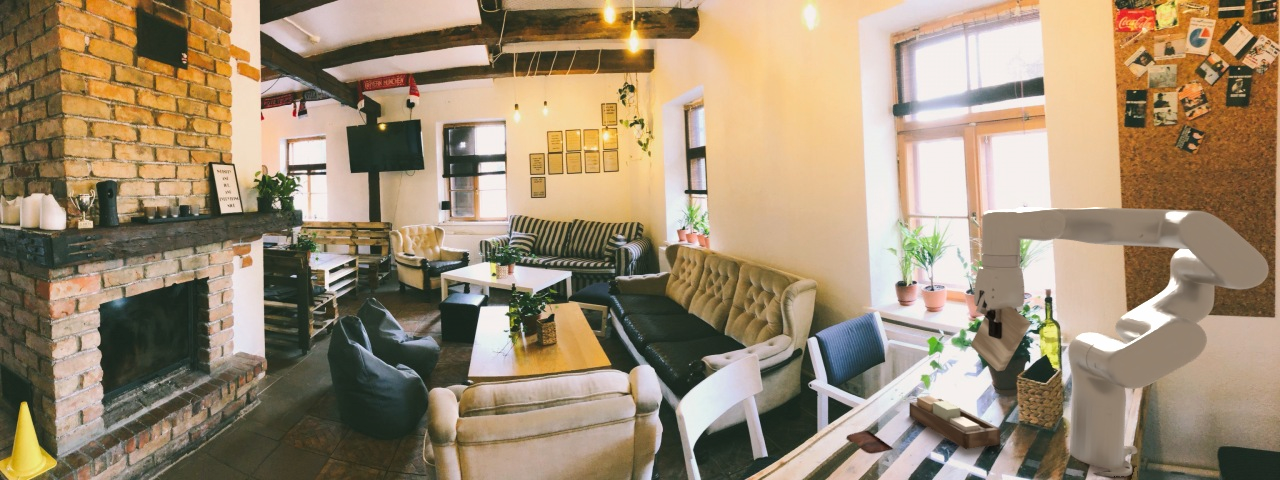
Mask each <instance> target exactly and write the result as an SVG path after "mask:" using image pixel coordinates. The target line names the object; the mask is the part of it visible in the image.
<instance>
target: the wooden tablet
mask: <svg viewBox="0 0 1280 480" xmlns="http://www.w3.org/2000/svg"><path fill="white" fill-rule="evenodd" d="M846 440H848V441H849V442H851V443H854V444H855V443H856V444H857V445H858V447H859V448H860V449H861V450H862V451H864V452H867V453H869V454H872V453H877V452H883V451H886V450H887V451H888V450H893V449H894V448H893V447H892V446H890V445H889V444H887V442H885V441H883V440H882V439H881V438H880V437H878V436H877V435H875V434H874V433H872V432H871V431H870V430H863V431H859V432H854V433H850V434H847V435H846Z"/></svg>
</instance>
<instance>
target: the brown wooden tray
mask: <svg viewBox="0 0 1280 480" xmlns="http://www.w3.org/2000/svg"><path fill="white" fill-rule="evenodd" d="M935 399H936V400H938V401H945V400H943V399H942V398H935ZM908 414H909V417H911V418H912V419H913V420H915V421H917V422H919V423H921V424H922V425H924V426H926V427H927V428H929V429H930V430H932V431H934V432H935V433H937V434H938V435H941V436H942V437H944V438H946V439H948V440H949V441H951V442H952V443H955V444H956V445H958V446H959V447H961V448H962V449H964V450H971V449H977V448H978V449H979V448H984V447H990V446H997V445H1001V431H1002V430H1001V428H999V427H998V426H995V425H993V424H991V423H989V422H987V421H985V420H983V419H982V418H980V417H977V416H975V415H973V414H971V413H970V412H967V411H965V410H964V409H961V408H960V417H965V418H967V419H969V420H970V421H972V422H974V423H976V424H978V425H979V430H975V431H968V432H966V431H964V430H962V429H960V428H959V427H957V426H955V425H953V424H951V423H949V422H948V421H946V420H944V419H942V418H940V417H938V416H937V415H935V414H933V413H931V412H929V411H928V410H926V409H924V408H922V407H920V406H918V405H917V401H913V402H909V413H908Z"/></svg>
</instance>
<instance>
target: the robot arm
mask: <svg viewBox="0 0 1280 480" xmlns="http://www.w3.org/2000/svg"><path fill="white" fill-rule="evenodd" d="M981 219H982V220H981V221H982V222H981V266H978V269H977V272H976V276H975V277H976V278H975V283H974V292H973V293H974V294H973V303H974V306H976V310H975V313H978V314H980V315H983V316H984V317H986V319H987V320H989V332H988V334H989V336H991V337H994V338H997V339H1001V338H1002V323H1001V322H1000V310H1001V309H1004V308H1005V307H1012V308H1013V309H1014V310H1016V311H1017V312H1018V313H1020V312H1021V311H1023V309H1024V304H1025V280H1024V274H1023V269H1022V267H1021V261H1022V259H1023V258H1022V256H1021V247H1022V246H1021V241H1022V240H1029V241H1038V242H1040V241H1041V242H1042V241H1043V242H1045V241H1052V240H1067V241H1068V240H1069V241H1075V242H1080V243H1084V244H1085V243H1086V244H1096V245H1104V246H1105V245H1106V246H1127V247H1128V246H1133V247H1134V246H1135V247H1155V248H1157V247H1158V248H1170V249H1171V248H1172V249H1178V250H1177V251H1175V253H1174V254H1173V255H1172V257H1171V259H1170V264H1169V266H1170V273H1169V274H1170V277H1169V281H1168V284H1167V286H1166V287H1165V288H1164V289H1163V290H1162V291H1161V292H1159V293H1157V294H1156V295H1154V297H1152V298H1150V299H1149V300H1147V301H1145V302H1143V303H1142V304H1140V305H1138V306H1137V307H1135V308H1133V309H1132V310H1130V311H1128V312H1126V313H1124V315H1121V317H1119V319H1118V320H1117V322H1116V323H1115V333H1116V334H1117V336H1118V337H1119V338H1120V339H1118V338H1116V337H1113V336H1110V335H1108V334H1105V333H1101V332H1094V331H1093V332H1092V331H1091V332H1084V333H1079V334H1078V335H1076V336H1075V337H1074V338H1073V339H1072V340H1071V341H1070V343H1069V345H1068V350H1067V356H1068V363H1069V366H1070V374H1071V395H1070V396H1071V399H1070V400H1071V401H1070V402H1071V403H1070V431H1069V432H1070V433H1069V436H1070V437H1069V454H1070V455H1071V457H1073V458H1074V459H1076V460H1078V461H1080V462H1082V463H1084V464H1087V465H1091V466H1093V467H1097V468H1104V469H1107V470H1104V471H1098V472H1093V474H1095V475H1099V476H1103V477H1112V478H1117V477H1116V476H1120V477H1119V478H1122V477H1121V476H1124V477H1128V476H1131V475H1132V473H1133V465H1132V464H1131V463H1130V462H1129V461H1128V460H1126V457H1128V456H1129V455H1134V454H1135V455H1136V454H1137V453H1138V448H1137V447H1136V446H1134V445H1132V444H1131V445H1129V444H1128V445H1125V433H1126V431H1125V427H1126V426H1125V425H1126V407H1127V392H1126V391H1127V390H1126V389H1131V390H1136V389H1141V388H1145V387H1148V386H1149V385H1152V384H1153V383H1155V382H1158V381H1159V380H1161V379H1163V378H1165V377H1167V376H1169V375H1170V374H1173V373H1174V372H1175V371H1178V370H1179V369H1181V368H1183V367H1185V366H1186V365H1188V364H1190V363H1191V362H1193V361H1194V360H1196V359H1197V358H1198V357H1200V356H1201V354H1202V353H1203V351H1204V350H1205V348H1206V346H1207V344H1208V343H1207V341H1208V339H1207V338H1208V337H1207V334H1206V331H1205V330H1204V329H1203V327H1202V326H1201V325H1200V324H1198V323H1199V322H1200V321H1202V320H1203V319H1205V318H1206V317H1207V316H1208V315H1210V313H1211V312H1212V310H1213V309H1214V304H1215V287H1221V288H1226V289H1234V290H1246V289H1252V288H1255V287H1258V286H1259V285H1261V284H1262V283H1263V282H1265V281H1266V279H1267V278H1268V275H1269V264H1268V262H1267V260H1266V258H1265V257H1264V256H1263V255H1262V254H1261V253H1260V252H1259V250H1257V249H1256V248H1255V247H1254V246H1253V245H1251V244H1250V243H1249V242H1248V241H1247V240H1246V239H1245V238H1244V237H1242V236H1241V235H1240V234H1239V233H1238V232H1237V231H1235V229H1233V228H1232V227H1231V226H1230V225H1228V224H1227V223H1226V222H1224V221H1223V220H1222V219H1220V218H1219V217H1217V216H1215V215H1214V214H1211V213H1209V212H1207V211H1203V210H1186V209H1185V210H1183V209H1181V210H1180V209H1159V208H1158V209H1155V208H1154V209H1153V208H1152V209H1151V208H1127V207H1126V208H1123V207H1121V208H1119V207H1118V208H1117V207H1087V208H1054V207H1053V208H1050V207H1048V208H1047V207H1046V208H1045V207H1026V206H1025V207H1018V208H1016V209H1013V210H1012V209H995V210H987V211H985V212H984V213H983V214H982V216H981ZM992 311H993V312H994V314H993V313H992ZM1121 339H1122V340H1121ZM1114 476H1115V477H1114ZM1124 477H1123V478H1124Z"/></svg>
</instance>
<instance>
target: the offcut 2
mask: <svg viewBox="0 0 1280 480" xmlns="http://www.w3.org/2000/svg"><path fill="white" fill-rule="evenodd" d="M950 423H951V424H953V425H955V426H957V427H959V428H960V429H962V430H964V431H966V432H968V431H975V430H979V425H978V424H976V423H974V422H972V421H970V420H969V419H967V418H965V417H958V418H951V419H950Z"/></svg>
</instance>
